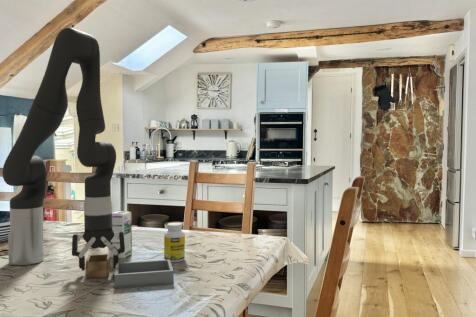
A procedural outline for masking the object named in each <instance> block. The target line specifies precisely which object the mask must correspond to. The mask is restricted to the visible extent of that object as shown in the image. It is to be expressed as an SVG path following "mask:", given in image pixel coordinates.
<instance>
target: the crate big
mask: <svg viewBox="0 0 476 317" xmlns="http://www.w3.org/2000/svg"><path fill="white" fill-rule="evenodd" d="M162 285H163V286H164V285H174V268H173V265H172V262H171V261H170V259H169V260H165V259H158V260H157V259H156V260H155V259H154V260H143V261H141V260H140V261H138V260H137V261H127V262H125V261H124V262H123V261H122V262H119V263H116V268H114V289H124V288H125V289H127V288H137V287H149V286H150V287H151V286H162Z"/></svg>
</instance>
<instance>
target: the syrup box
mask: <svg viewBox="0 0 476 317" xmlns="http://www.w3.org/2000/svg"><path fill="white" fill-rule="evenodd" d="M112 229H113V232H120V231H121V230H122V231H123V232H124V243H125V252H124V253H120V254H119V255H118V259H125V258H127V257H128V256H131V255H132V254H133V235H132V234H133V232H132V231H133V229H132V211H128V210H119V211H117V210H116V211H115V212H112ZM111 242H112V243H113V244H114V246H115V247H116V248H117V249H119V248H120V239H117V237H116V236H114V237H113V238H112V240H111ZM107 248H108V247H107ZM107 250H108V251H107V254H110V259H113V252H112V251H111V250H110V249H109V248H108V249H107Z"/></svg>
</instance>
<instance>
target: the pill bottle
mask: <svg viewBox="0 0 476 317" xmlns="http://www.w3.org/2000/svg"><path fill="white" fill-rule="evenodd" d="M166 226H167V227H166V229H167V231H166V232H164V236H163V246H164V248H163V252H164V254H163V256H164V257H163V258H164V259H163V260H169V259H170V261H171V263H179V262H182V261H184V260H185V258H186V257H185V255H186V254H185V253H186V252H185V249H186V248H185V247H186V246H185V244H186V242H185V241H186V240H185V239H186V237H185V236H186V234H185V232H184V231H183V230H182V229H183V223H182V222H169V223H167V224H166Z"/></svg>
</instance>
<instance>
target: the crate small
mask: <svg viewBox="0 0 476 317" xmlns="http://www.w3.org/2000/svg"><path fill="white" fill-rule="evenodd" d="M110 270H111V258H110V254H108V253H99V254H88V256H87V258H86V259H85V280H93V279H97V280H98V279H106V278H107V279H109V277H110V272H111V271H110Z"/></svg>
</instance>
